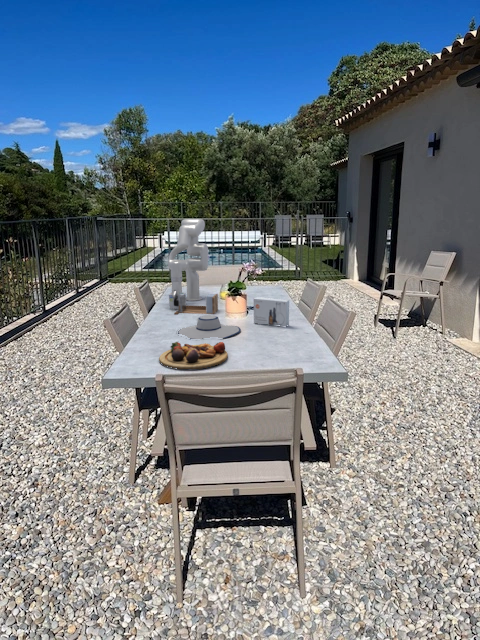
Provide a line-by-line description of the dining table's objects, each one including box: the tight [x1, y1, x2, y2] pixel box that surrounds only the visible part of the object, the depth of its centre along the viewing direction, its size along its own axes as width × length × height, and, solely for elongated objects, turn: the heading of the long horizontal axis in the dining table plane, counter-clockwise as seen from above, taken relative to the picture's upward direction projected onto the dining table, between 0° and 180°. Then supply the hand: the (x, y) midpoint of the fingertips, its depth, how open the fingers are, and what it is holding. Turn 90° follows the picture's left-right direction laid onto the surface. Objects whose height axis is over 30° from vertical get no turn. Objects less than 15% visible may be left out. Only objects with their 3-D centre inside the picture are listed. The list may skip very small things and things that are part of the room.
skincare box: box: [253, 296, 290, 326], centre depth 266 cm, size 21×5×16 cm, turn 64°
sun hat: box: [177, 314, 242, 340], centre depth 254 cm, size 36×36×9 cm
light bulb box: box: [168, 292, 187, 310], centre depth 311 cm, size 11×7×11 cm, turn 84°
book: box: [205, 293, 216, 313], centre depth 296 cm, size 9×5×11 cm, turn 171°
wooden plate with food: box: [158, 341, 229, 370], centre depth 209 cm, size 32×32×8 cm
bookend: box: [176, 295, 187, 312], centre depth 299 cm, size 9×4×10 cm, turn 171°
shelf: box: [173, 293, 219, 315], centre depth 298 cm, size 12×27×12 cm, turn 81°
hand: (177, 304), depth 312 cm, fingers closed on light bulb box, 6 cm apart
